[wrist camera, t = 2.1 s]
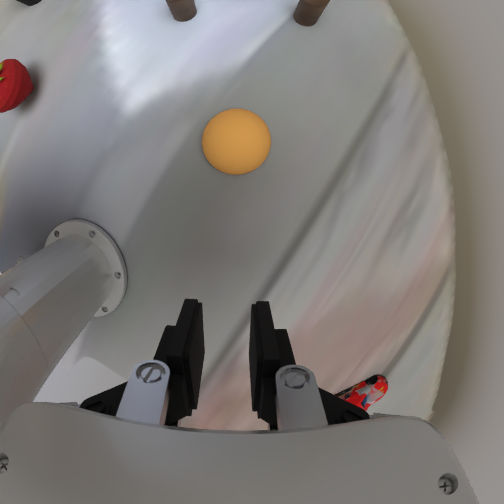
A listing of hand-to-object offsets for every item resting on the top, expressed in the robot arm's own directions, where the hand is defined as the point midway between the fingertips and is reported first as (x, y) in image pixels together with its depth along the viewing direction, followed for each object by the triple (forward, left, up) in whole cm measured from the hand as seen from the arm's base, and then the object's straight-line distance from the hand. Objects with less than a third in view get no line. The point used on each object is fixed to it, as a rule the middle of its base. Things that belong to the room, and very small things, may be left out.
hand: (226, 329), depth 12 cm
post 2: (+7, +25, -17) cm, 31 cm away
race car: (+20, -27, -18) cm, 38 cm away
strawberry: (-27, +19, -17) cm, 38 cm away
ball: (0, +9, -14) cm, 17 cm away
